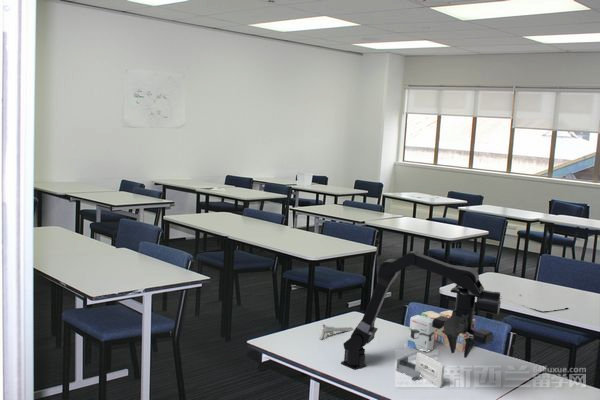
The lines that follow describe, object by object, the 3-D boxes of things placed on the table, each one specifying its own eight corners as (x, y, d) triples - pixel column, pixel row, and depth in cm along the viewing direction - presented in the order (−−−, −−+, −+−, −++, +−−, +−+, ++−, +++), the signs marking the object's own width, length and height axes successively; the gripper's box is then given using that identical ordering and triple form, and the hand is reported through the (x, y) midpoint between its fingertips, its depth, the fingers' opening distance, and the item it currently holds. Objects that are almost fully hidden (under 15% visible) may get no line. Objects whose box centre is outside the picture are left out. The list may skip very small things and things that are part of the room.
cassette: (413, 373, 200) (415, 352, 199) (417, 372, 201) (419, 351, 200) (439, 388, 190) (441, 365, 189) (443, 387, 191) (445, 364, 190)
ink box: (406, 346, 225) (410, 316, 223) (413, 343, 229) (416, 314, 227) (426, 353, 219) (429, 322, 218) (433, 350, 223) (436, 320, 221)
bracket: (393, 371, 200) (394, 360, 199) (407, 365, 206) (408, 355, 205) (415, 381, 193) (416, 369, 193) (429, 374, 199) (431, 363, 199)
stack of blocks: (418, 334, 240) (421, 305, 238) (428, 332, 244) (431, 303, 242) (462, 352, 223) (466, 321, 222) (472, 349, 227) (475, 319, 226)
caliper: (321, 341, 224) (322, 325, 223) (319, 340, 225) (320, 324, 224) (353, 330, 239) (355, 315, 238) (351, 329, 240) (353, 314, 239)
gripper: (425, 304, 185) (420, 351, 187) (479, 321, 173) (473, 371, 174) (443, 298, 193) (438, 344, 195) (497, 314, 181) (490, 362, 182)
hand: (459, 355), depth 187 cm, fingers open, 4 cm apart
